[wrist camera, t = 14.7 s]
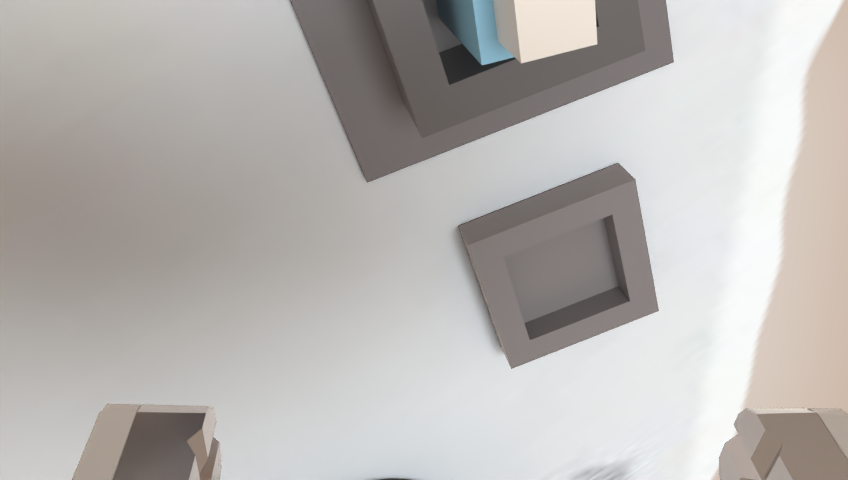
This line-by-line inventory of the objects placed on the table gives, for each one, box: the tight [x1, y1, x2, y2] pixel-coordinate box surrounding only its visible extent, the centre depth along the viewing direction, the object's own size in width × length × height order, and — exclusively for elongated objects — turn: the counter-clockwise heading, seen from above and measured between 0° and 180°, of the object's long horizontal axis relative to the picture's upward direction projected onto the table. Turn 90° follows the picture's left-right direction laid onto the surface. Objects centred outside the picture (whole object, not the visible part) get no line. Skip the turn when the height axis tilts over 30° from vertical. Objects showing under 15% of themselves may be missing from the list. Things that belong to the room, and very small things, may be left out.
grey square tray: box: [459, 163, 659, 369], centre depth 39 cm, size 9×9×2 cm
